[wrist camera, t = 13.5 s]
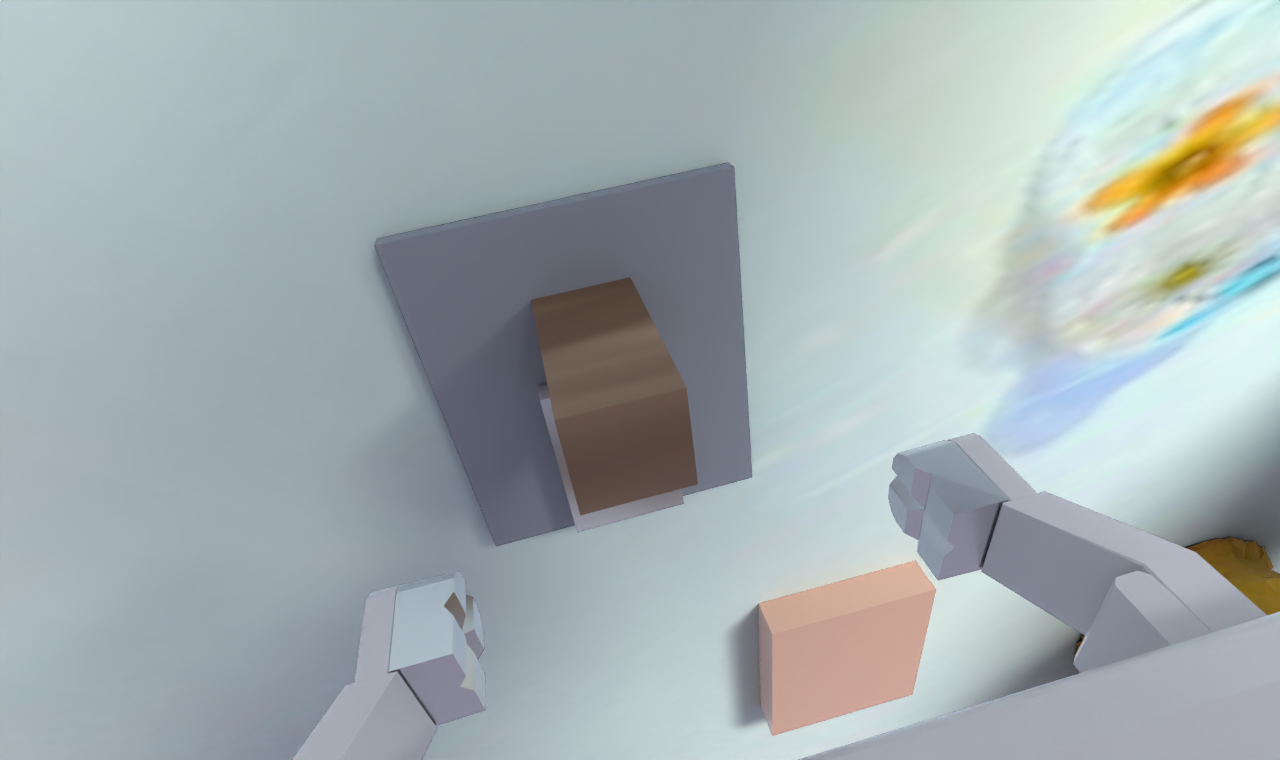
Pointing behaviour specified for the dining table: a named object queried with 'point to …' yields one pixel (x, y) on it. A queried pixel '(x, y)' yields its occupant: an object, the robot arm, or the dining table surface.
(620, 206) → the pad
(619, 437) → the brown block
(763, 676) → the tile
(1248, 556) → the pitcher
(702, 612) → the dining table surface
